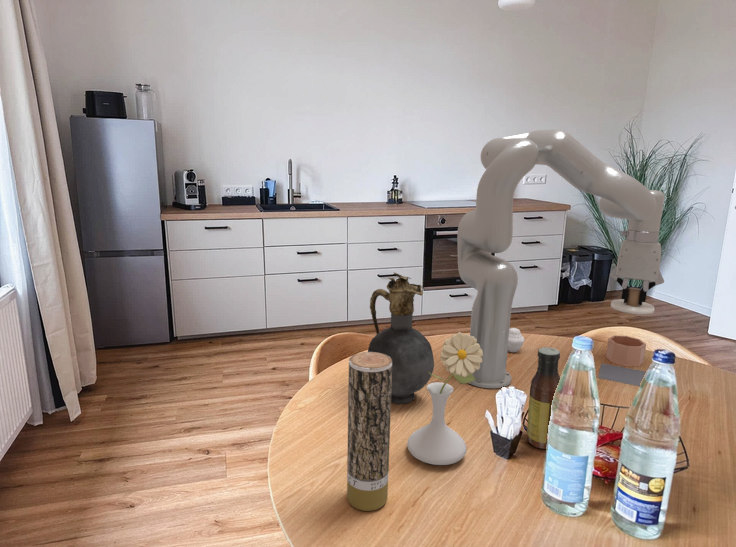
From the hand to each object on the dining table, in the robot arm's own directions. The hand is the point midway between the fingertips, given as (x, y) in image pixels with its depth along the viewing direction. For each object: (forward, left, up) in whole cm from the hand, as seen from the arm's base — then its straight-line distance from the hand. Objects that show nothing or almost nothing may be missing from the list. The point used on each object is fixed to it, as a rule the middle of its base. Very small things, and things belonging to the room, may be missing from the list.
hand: (632, 302), depth 145 cm
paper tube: (-72, -62, -18) cm, 97 cm away
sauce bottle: (-37, -43, -18) cm, 60 cm away
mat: (-5, -10, -17) cm, 21 cm away
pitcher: (-66, -23, -18) cm, 72 cm away
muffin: (-30, +7, -18) cm, 35 cm away
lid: (0, 0, -2) cm, 2 cm away
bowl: (0, 0, -17) cm, 17 cm away
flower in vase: (-58, -48, -18) cm, 77 cm away
